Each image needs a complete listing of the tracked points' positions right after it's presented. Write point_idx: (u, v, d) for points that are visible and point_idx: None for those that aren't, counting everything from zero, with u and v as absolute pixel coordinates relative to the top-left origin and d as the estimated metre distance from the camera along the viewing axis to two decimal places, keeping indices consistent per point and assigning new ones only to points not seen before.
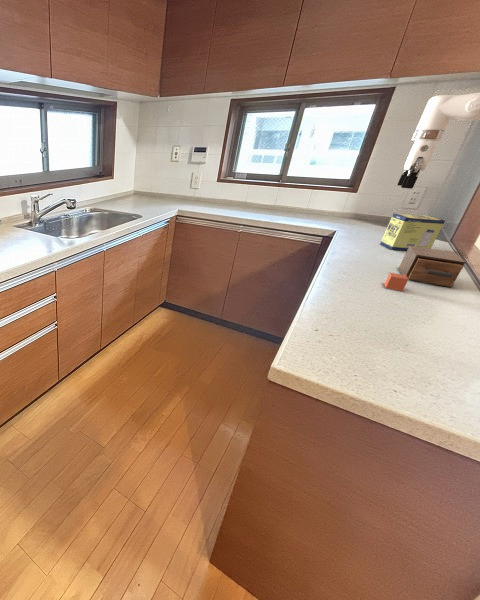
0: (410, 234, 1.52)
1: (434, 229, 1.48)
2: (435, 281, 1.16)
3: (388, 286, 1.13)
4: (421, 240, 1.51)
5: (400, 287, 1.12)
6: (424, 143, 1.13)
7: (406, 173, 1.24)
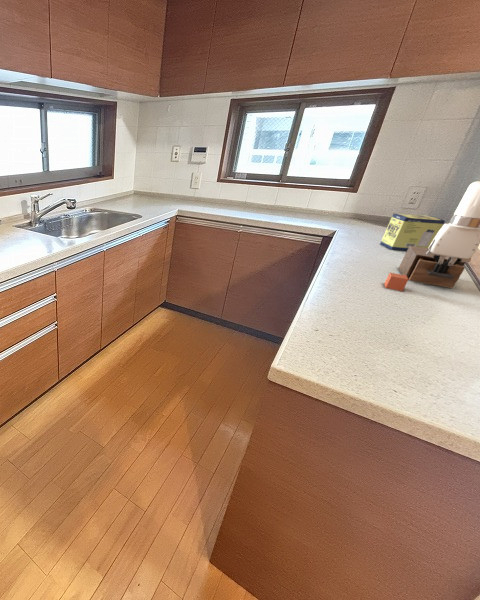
0: (410, 234, 1.52)
1: (434, 229, 1.48)
2: (436, 282, 1.15)
3: (388, 286, 1.13)
4: (421, 240, 1.51)
5: (400, 287, 1.12)
6: None
7: (442, 263, 1.10)
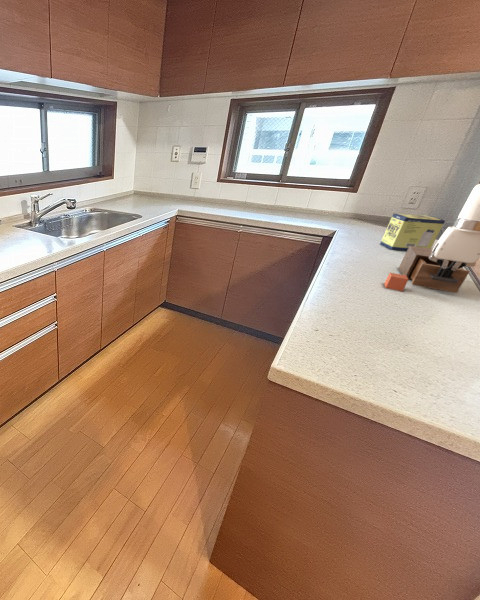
0: (410, 234, 1.52)
1: (434, 229, 1.48)
2: (439, 287, 1.11)
3: (388, 286, 1.13)
4: (421, 240, 1.51)
5: (400, 287, 1.12)
6: None
7: (446, 267, 1.07)
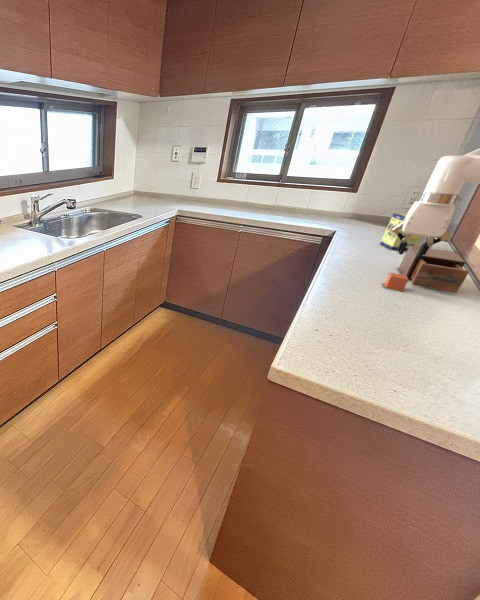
0: None
1: None
2: (439, 287, 1.11)
3: (388, 286, 1.13)
4: (421, 240, 1.51)
5: (400, 287, 1.12)
6: None
7: (406, 241, 1.08)
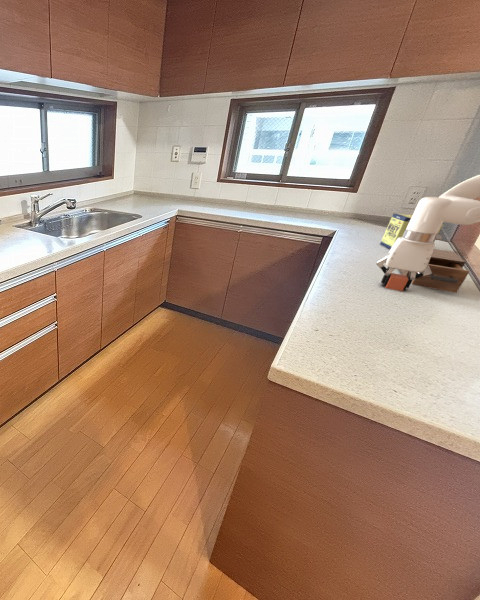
0: None
1: None
2: (439, 287, 1.11)
3: (388, 286, 1.13)
4: None
5: (400, 287, 1.12)
6: None
7: (389, 274, 1.13)
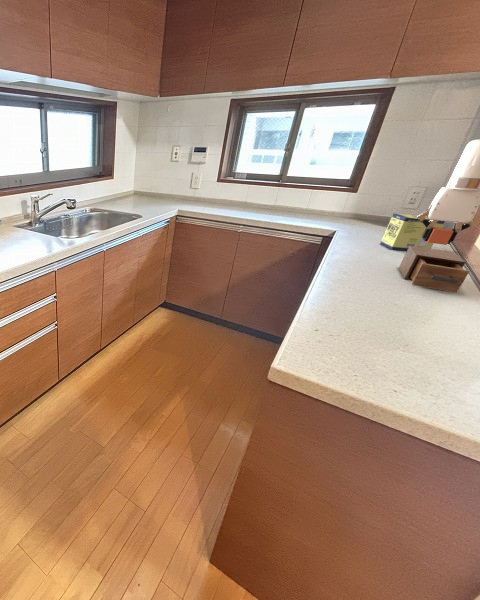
0: (410, 234, 1.52)
1: None
2: (439, 287, 1.11)
3: (430, 240, 1.06)
4: (421, 240, 1.51)
5: (444, 240, 1.05)
6: None
7: None
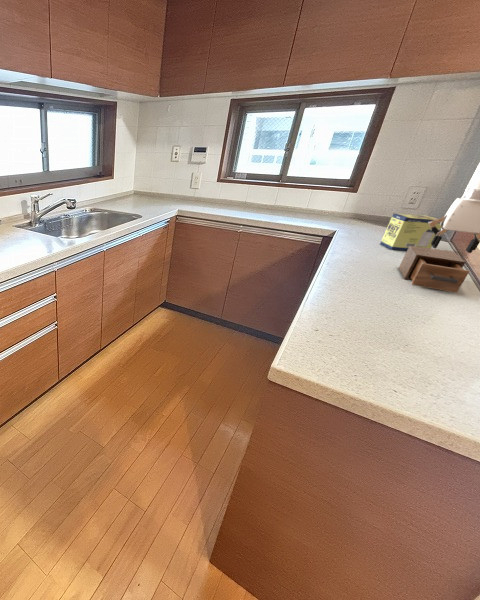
0: (410, 234, 1.52)
1: None
2: (439, 287, 1.11)
3: None
4: (421, 240, 1.51)
5: None
6: None
7: None
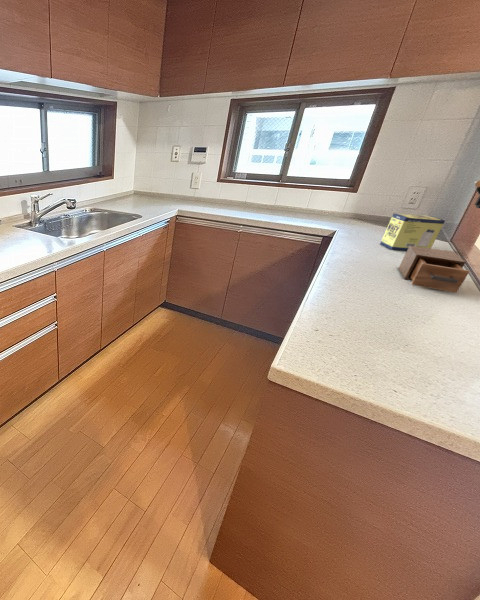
0: (410, 234, 1.52)
1: (434, 229, 1.48)
2: (439, 287, 1.11)
3: None
4: (421, 240, 1.51)
5: None
6: None
7: None
